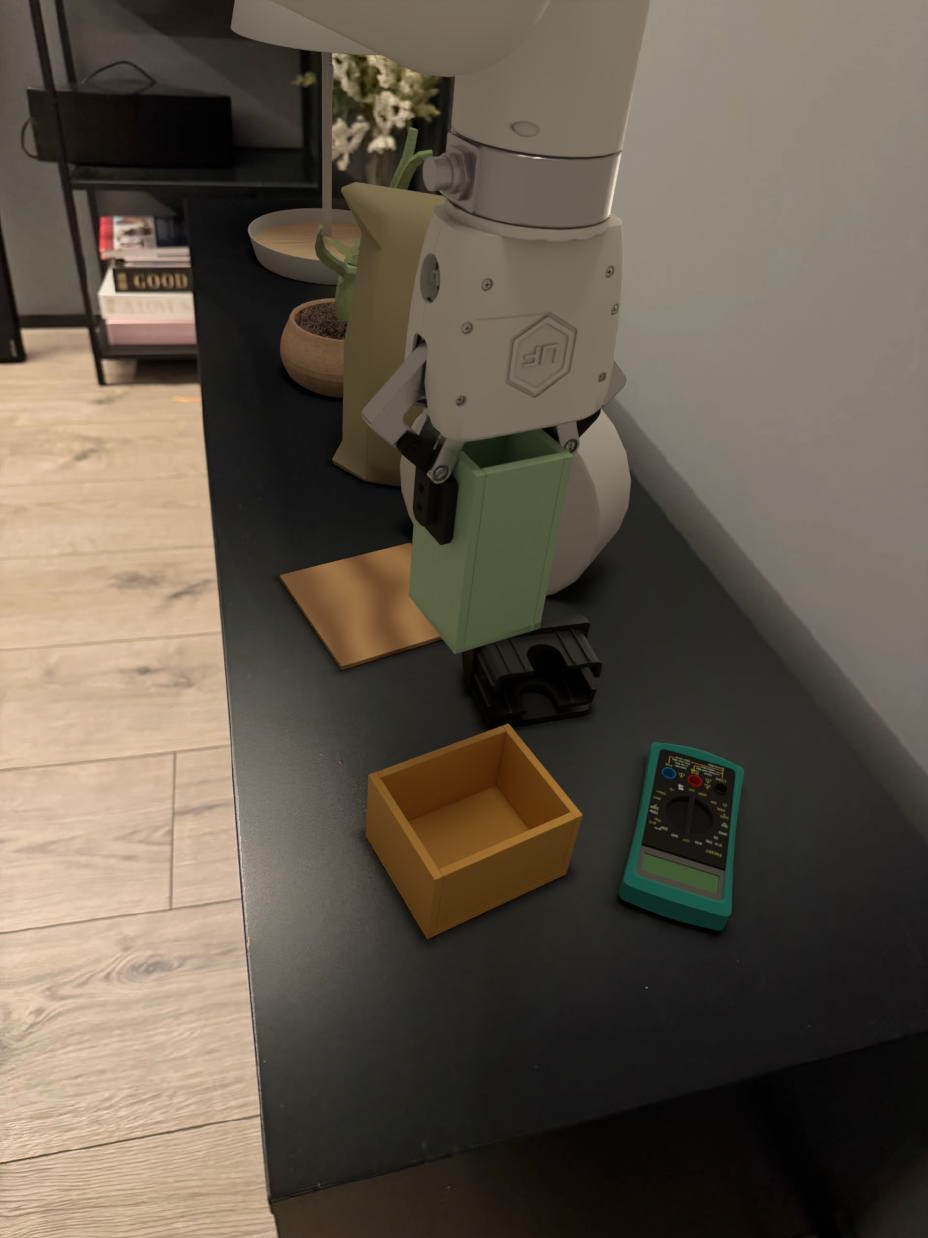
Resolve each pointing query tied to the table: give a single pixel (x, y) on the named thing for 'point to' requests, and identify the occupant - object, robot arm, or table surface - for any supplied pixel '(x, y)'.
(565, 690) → the end cap
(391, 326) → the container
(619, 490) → the alarm clock
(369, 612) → the cork mat
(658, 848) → the digital multimeter
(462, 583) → the sage tub
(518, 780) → the ochre bin
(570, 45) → the robot arm
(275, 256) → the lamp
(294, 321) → the potted plant
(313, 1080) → the table surface
